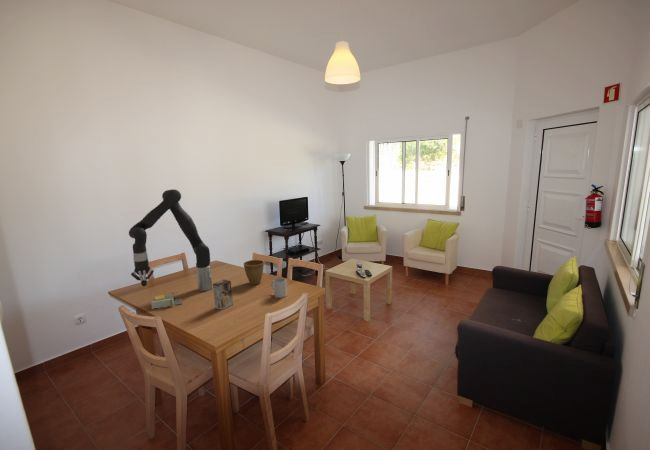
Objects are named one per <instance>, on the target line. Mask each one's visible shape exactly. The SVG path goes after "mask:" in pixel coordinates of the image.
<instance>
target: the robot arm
mask: <svg viewBox="0 0 650 450" xmlns="http://www.w3.org/2000/svg"><path fill="white" fill-rule="evenodd" d="M161 197H162V201H161V202H160V203H159V204H158V205H157V206H155V207H154V208H153V209H151V210H149V212H147V213H146V215H145V216H144V217H143V218H142V219H141V220H140V221H138V222H136V223H135V224H134V225H133V226H132V227H131V228H130V229H129V230H128V236H129V237H130V238H132V239H134V242H133V244H132V252H133V255H132V256H133V263H134V271H132V272H131V274H130V276H132V277H133V278H134V279H135V280H136V281H140V283H141V286H142V287H146V286H147V285H148V281H147V280H149V279H150V278H151V276H152V275H153V273H154V271H155V270H154V269H151V267H150V265H149V255H148V253H147V236H148V234H147V231H146V230H147V229H151V228H153V226H154V225H156V223H157V222H158V221H159V220H160V219H161V217H163V215H165V214H166V212H168V211H170V212H171V213H172V215H173V217H174V219H175V221H176V222H177V225H178V227H179V228H180V229H181V231H182V233H183V234H184V236H185V237H186V238H187V240H188V241H189V243H190V245H191V247H192V251H193V253H194V254H195V258H196V260H195V261H196V262H195V267H196V276H197V286H198V288H197V289H198V291H200V292H205V291H210V290H213V281H212V271H211V251H210V248H209V246H207V245H206V244H205V243H204V241H203V240H202V238H201V237H200V235H199V231H198V230H197V226H196V224H195V222H194V220H193V219H192V217H191V216H190V214H188V212H187V211H186V210H184V209H183V208H182V206H181V204H180V203H179V202H180V201H181V199H182V193H181V192H180V191H179V190H178V189H166V190H165V191H163V193H162V195H161ZM148 273H149V274H148ZM147 274H148V275H147Z"/></svg>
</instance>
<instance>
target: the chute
mask: <svg viewBox="0 0 650 450" xmlns="http://www.w3.org/2000/svg"><path fill="white" fill-rule="evenodd" d="M164 295H165V294H164ZM155 297H156V296H152V301H151V302H150V303H151V304H150V305H151V310H155V309H154V308H158V309H161V308H160V307H164V308H168V307H167V306H170V308H174V306H173V305H176V306H179V305H180V304H181V305H183V298H181V297H180V298H176V299H175V295H174V291H171V293H169V294H166V295H165V300H159V301H155ZM181 305H180V306H181Z"/></svg>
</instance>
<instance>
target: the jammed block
mask: <svg viewBox="0 0 650 450" xmlns="http://www.w3.org/2000/svg"><path fill="white" fill-rule="evenodd" d="M154 297H155V301H159V300H165V294H159V295H155V296H154Z"/></svg>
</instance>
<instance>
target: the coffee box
mask: <svg viewBox="0 0 650 450" xmlns="http://www.w3.org/2000/svg"><path fill="white" fill-rule="evenodd" d="M212 290H213V299H214V307H215V309H218V310H221V311H222V310H225V309H227V308H229V307H230V306H233V305H234V302H233V292H232V290H233V289H232V282H231V280H228V279H222V280H219V281H217V282H214V283H212Z"/></svg>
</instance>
